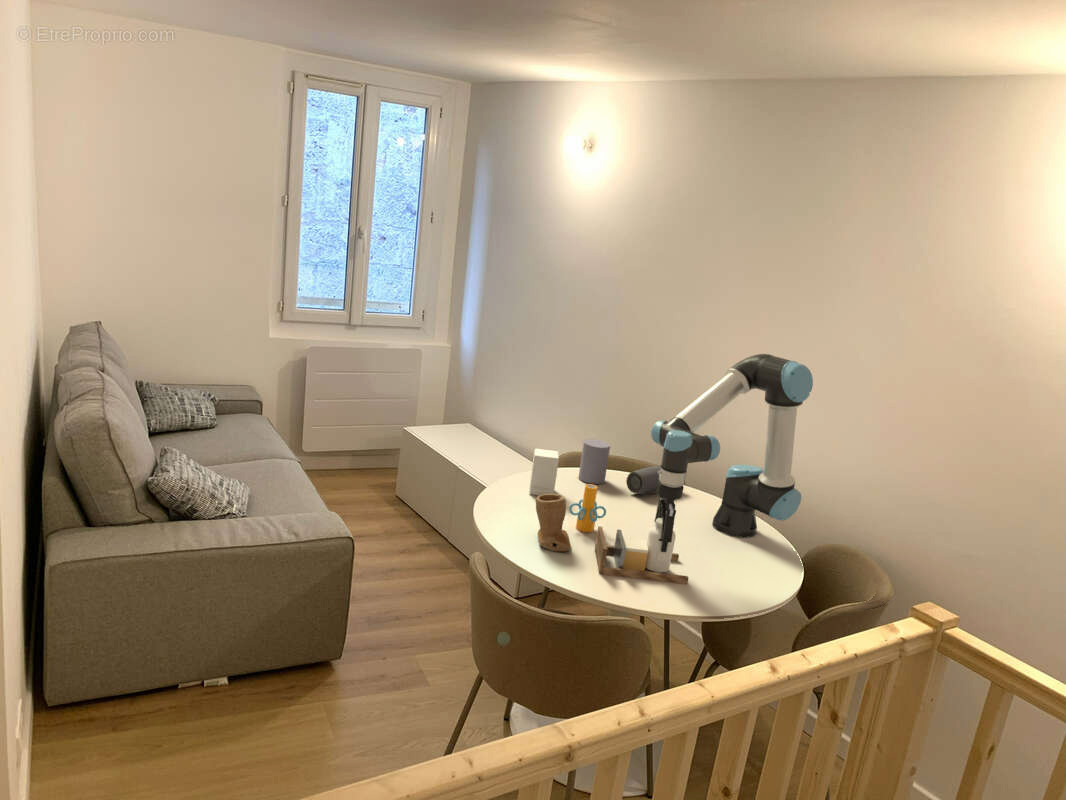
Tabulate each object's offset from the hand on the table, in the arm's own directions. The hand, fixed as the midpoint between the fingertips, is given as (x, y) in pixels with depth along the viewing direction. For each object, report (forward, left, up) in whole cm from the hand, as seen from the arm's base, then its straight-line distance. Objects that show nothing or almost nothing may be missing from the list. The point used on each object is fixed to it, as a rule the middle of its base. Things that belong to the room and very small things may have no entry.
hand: (658, 554), depth 239 cm
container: (+14, -74, -5) cm, 76 cm away
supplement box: (+34, -54, -5) cm, 64 cm away
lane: (+5, 0, -5) cm, 7 cm away
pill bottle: (0, 0, -4) cm, 4 cm away
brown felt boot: (+32, -10, -5) cm, 34 cm away
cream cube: (+8, 0, -5) cm, 9 cm away
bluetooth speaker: (-9, -69, -5) cm, 70 cm away
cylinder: (+20, -24, -5) cm, 32 cm away
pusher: (+12, 0, -4) cm, 13 cm away
